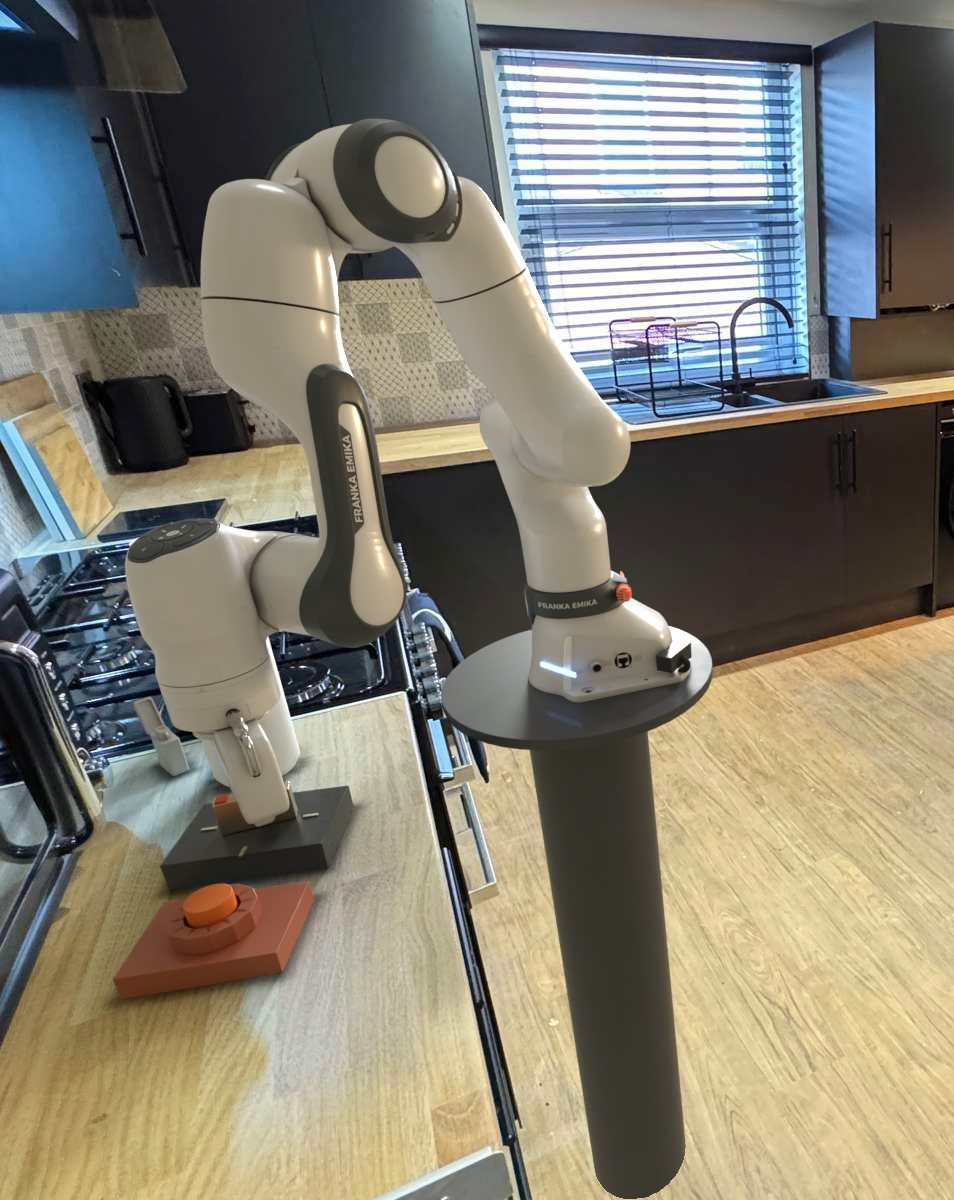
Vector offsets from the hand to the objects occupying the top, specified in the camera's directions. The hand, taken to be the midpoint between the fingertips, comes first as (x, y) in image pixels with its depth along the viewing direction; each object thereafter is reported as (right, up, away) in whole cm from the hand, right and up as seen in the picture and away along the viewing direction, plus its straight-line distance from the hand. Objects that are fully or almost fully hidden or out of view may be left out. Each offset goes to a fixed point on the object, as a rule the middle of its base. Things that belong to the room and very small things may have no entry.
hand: (260, 813), depth 85 cm
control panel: (0, -4, +2) cm, 4 cm away
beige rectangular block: (0, -1, 0) cm, 1 cm away
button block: (+4, -9, -11) cm, 15 cm away
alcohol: (-10, +1, +15) cm, 18 cm away
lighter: (-21, +2, +16) cm, 27 cm away
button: (+4, -6, -12) cm, 14 cm away
